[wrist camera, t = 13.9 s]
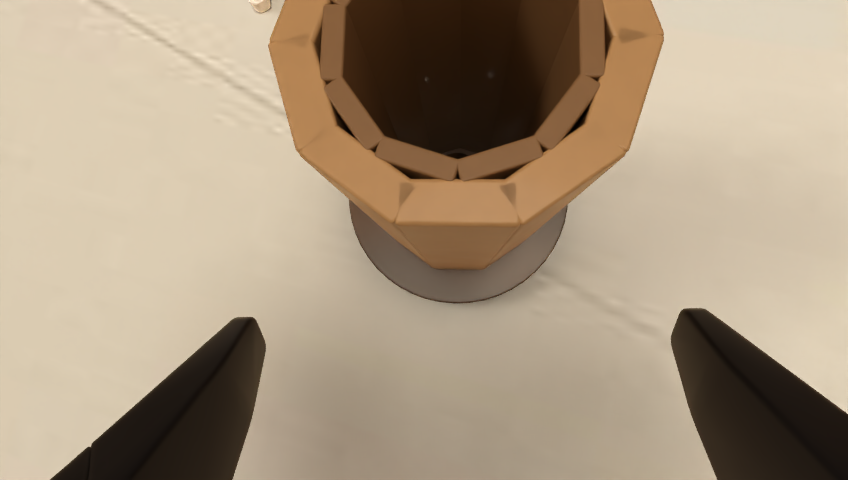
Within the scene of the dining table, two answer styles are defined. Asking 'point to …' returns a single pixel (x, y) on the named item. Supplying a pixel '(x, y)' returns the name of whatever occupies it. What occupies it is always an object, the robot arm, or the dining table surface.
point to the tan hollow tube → (463, 109)
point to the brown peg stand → (455, 282)
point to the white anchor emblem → (260, 5)
